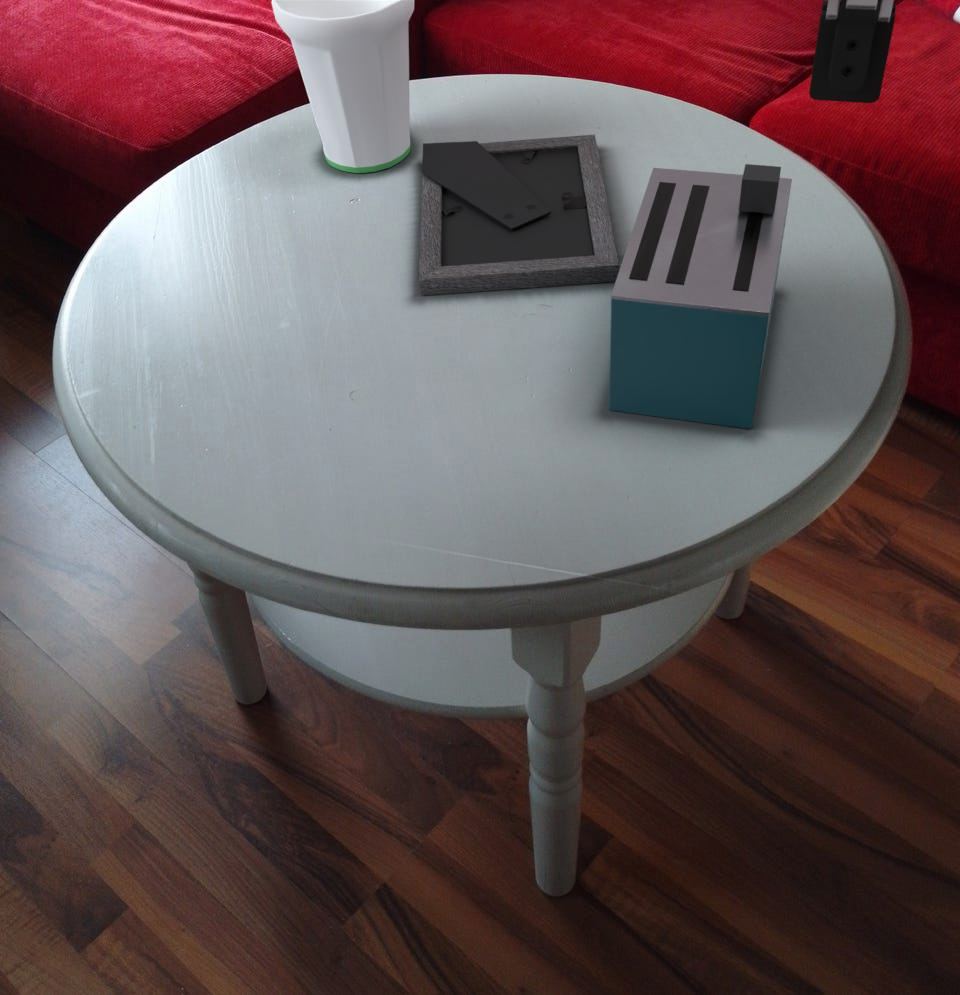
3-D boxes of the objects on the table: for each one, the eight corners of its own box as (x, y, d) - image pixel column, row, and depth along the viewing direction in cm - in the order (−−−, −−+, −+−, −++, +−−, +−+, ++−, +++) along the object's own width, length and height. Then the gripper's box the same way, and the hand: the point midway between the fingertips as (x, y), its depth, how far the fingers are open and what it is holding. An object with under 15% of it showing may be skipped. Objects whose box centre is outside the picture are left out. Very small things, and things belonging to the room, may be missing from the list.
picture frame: (425, 162, 103) (421, 295, 89) (423, 143, 102) (418, 275, 87) (594, 149, 102) (618, 281, 88) (594, 130, 101) (618, 260, 87)
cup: (355, 109, 111) (329, -48, 100) (456, 135, 106) (441, -28, 95) (277, 166, 105) (241, 5, 94) (382, 197, 99) (356, 30, 88)
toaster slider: (776, 198, 76) (781, 166, 75) (773, 214, 75) (778, 181, 73) (741, 195, 77) (745, 163, 75) (738, 211, 76) (742, 178, 74)
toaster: (774, 292, 86) (792, 177, 78) (751, 429, 75) (769, 311, 68) (648, 279, 88) (653, 166, 81) (608, 410, 78) (610, 294, 70)
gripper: (1055, -360, 33) (924, 181, 46) (1031, -436, 43) (928, 30, 56) (801, -350, 35) (745, 168, 48) (833, -425, 45) (779, 23, 58)
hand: (844, 92), depth 52 cm, fingers closed
